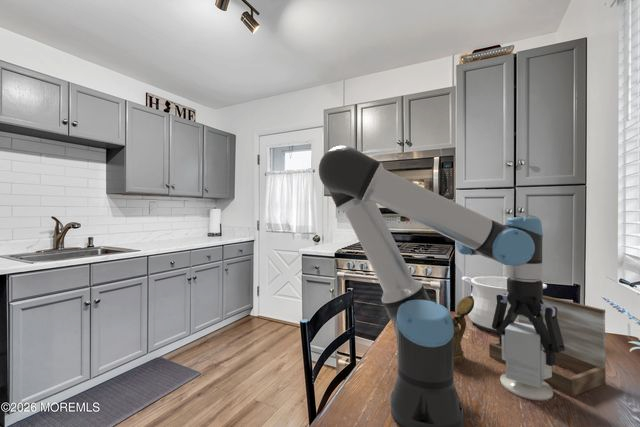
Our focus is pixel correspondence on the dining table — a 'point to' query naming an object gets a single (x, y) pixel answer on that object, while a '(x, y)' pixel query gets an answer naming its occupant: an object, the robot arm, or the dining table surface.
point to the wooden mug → (462, 310)
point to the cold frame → (573, 346)
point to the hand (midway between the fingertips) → (525, 367)
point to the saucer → (527, 389)
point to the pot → (487, 299)
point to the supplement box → (523, 354)
